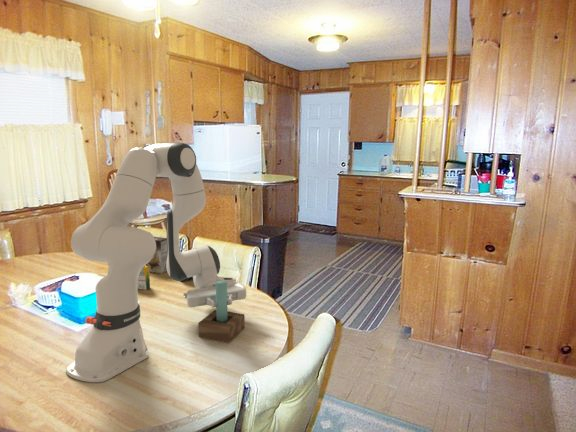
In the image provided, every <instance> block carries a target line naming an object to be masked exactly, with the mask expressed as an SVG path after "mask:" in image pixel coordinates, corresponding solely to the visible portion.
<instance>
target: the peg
mask: <svg viewBox="0 0 576 432" xmlns="http://www.w3.org/2000/svg"><path fill="white" fill-rule="evenodd" d="M216 301H217V307H215V308H216V309H215V310H216V318H217V322H220V323H227V322H228V315H227V311H228V305H227V282H226V281H217V282H216Z"/></svg>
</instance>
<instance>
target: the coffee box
mask: <svg viewBox="0 0 576 432" xmlns="http://www.w3.org/2000/svg"><path fill="white" fill-rule="evenodd" d="M153 237H154V239H155V242H156V251H155V254H154V256H153V258H152V259H151V261H150V262H149V263H147V264H146V265H145V266H149V273H154V272H155V274H164V273H165V272H167V269H166V263H167V237H161V236H160V237H158V236H153Z"/></svg>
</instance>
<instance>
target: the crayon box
mask: <svg viewBox="0 0 576 432" xmlns="http://www.w3.org/2000/svg"><path fill="white" fill-rule="evenodd" d="M150 288H151V282H150V272H149V266H146V265H145V266H144V267H143V268H142V270H141V272H140V274H139V277H138V283H137V290H138V289H139V290H144V291H147V290H148V289H150Z"/></svg>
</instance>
